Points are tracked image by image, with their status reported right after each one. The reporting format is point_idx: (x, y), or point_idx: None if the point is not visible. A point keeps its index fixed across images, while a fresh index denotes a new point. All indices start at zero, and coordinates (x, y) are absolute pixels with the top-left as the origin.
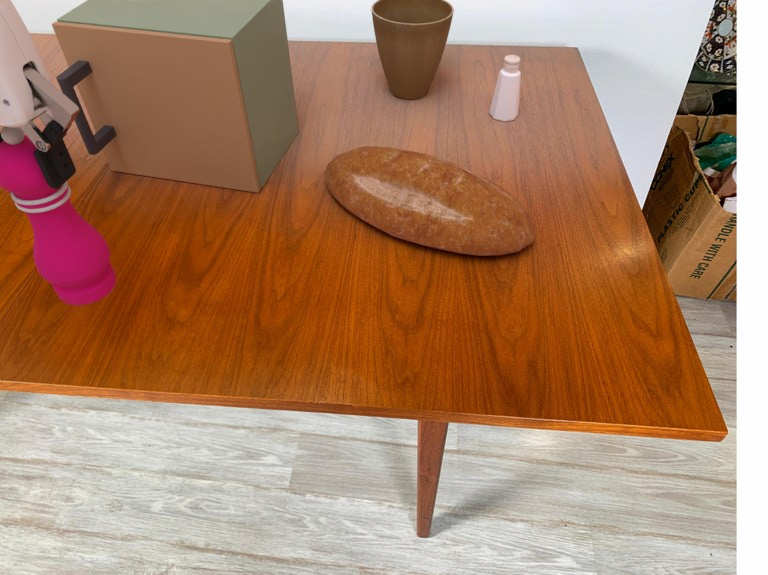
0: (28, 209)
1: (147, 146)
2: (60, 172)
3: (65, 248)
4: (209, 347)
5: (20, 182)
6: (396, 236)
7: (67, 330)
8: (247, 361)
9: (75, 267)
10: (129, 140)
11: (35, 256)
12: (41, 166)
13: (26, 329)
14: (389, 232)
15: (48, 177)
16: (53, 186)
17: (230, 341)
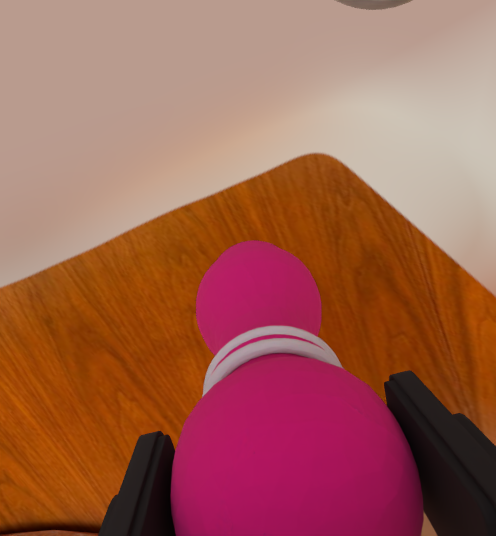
0: (251, 336)
1: (433, 528)
2: (108, 511)
3: (217, 304)
4: (137, 299)
5: (211, 406)
6: (49, 531)
7: (313, 236)
8: (82, 304)
9: (205, 284)
10: None
11: (281, 265)
12: (121, 519)
13: (362, 213)
14: (58, 533)
15: (130, 472)
16: (139, 441)
17: (122, 317)
